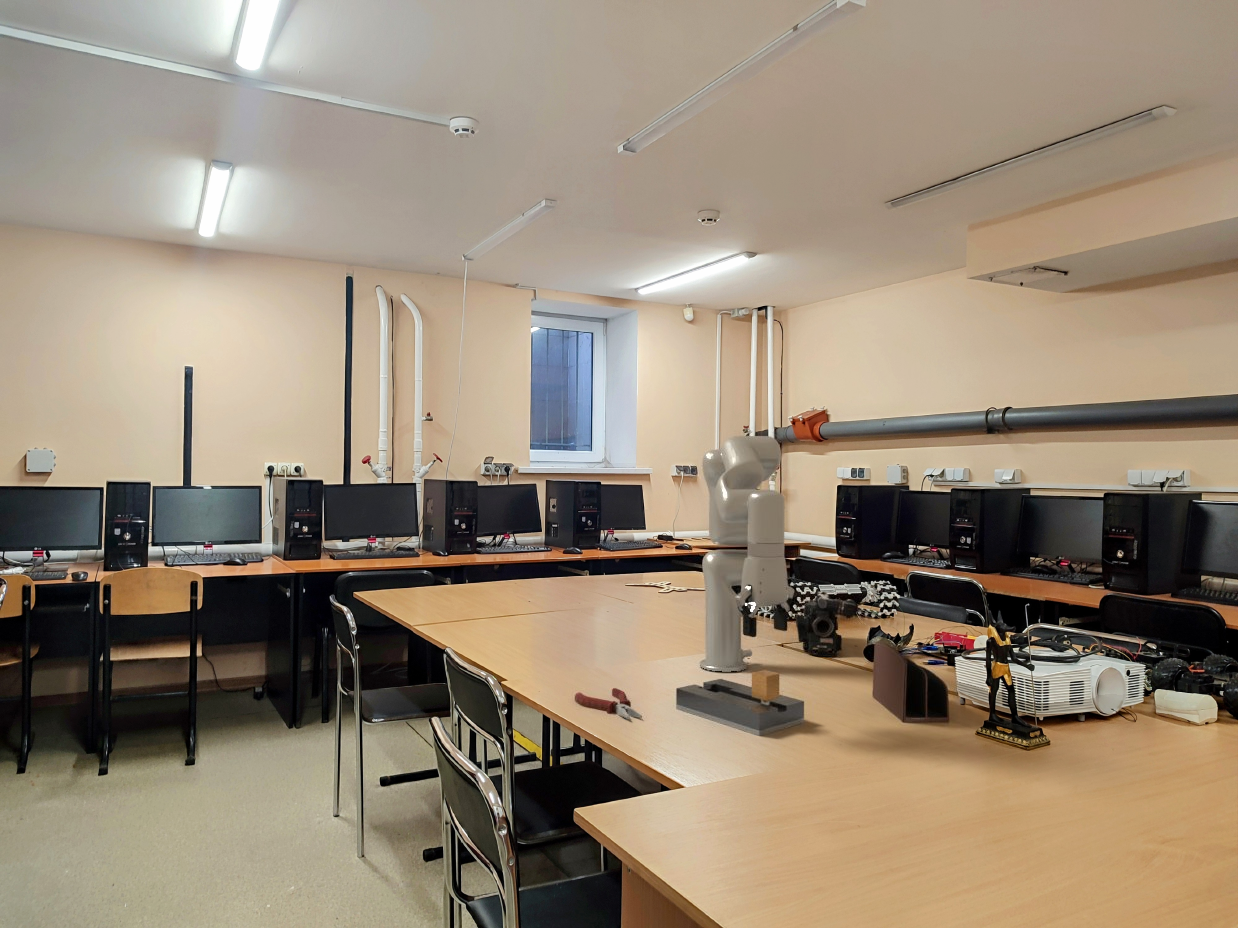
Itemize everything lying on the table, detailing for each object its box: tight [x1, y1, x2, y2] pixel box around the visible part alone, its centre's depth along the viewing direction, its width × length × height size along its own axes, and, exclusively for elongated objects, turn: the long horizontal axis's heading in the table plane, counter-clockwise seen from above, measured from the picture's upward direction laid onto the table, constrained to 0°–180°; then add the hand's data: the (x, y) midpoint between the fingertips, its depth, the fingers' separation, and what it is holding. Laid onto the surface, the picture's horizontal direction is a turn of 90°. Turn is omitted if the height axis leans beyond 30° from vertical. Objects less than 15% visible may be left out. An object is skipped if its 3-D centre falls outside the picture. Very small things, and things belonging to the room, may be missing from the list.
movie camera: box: [795, 591, 859, 657], centre depth 245 cm, size 31×18×18 cm, turn 165°
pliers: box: [574, 687, 643, 721], centre depth 179 cm, size 12×20×3 cm, turn 27°
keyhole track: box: [675, 678, 805, 737], centre depth 174 cm, size 14×24×4 cm, turn 39°
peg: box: [751, 669, 780, 706], centre depth 169 cm, size 4×4×10 cm
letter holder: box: [872, 641, 950, 724], centre depth 180 cm, size 10×20×14 cm, turn 1°
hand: (765, 632), depth 169 cm, fingers open, 9 cm apart
